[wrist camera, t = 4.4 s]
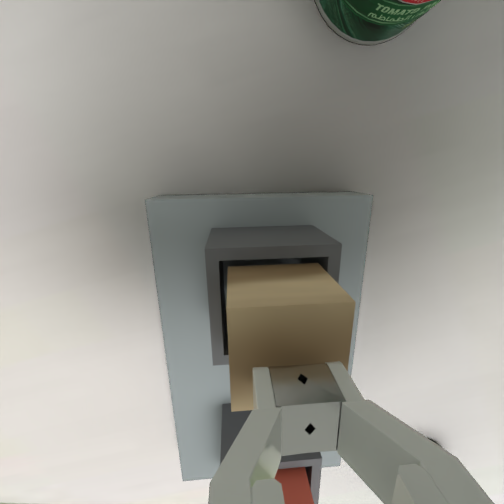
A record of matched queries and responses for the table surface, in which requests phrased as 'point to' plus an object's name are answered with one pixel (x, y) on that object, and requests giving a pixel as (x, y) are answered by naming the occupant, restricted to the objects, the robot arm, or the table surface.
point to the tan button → (283, 321)
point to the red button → (295, 485)
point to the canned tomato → (372, 18)
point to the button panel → (215, 298)
